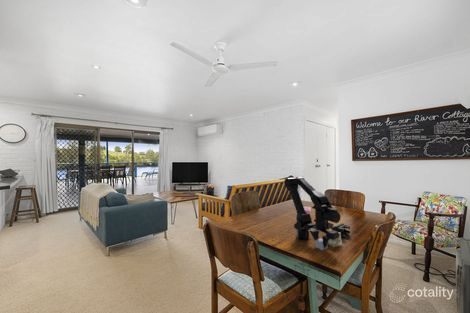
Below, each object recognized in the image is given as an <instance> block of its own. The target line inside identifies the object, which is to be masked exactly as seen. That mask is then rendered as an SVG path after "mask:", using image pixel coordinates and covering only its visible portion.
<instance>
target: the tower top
mask: <svg viewBox="0 0 470 313" xmlns="http://www.w3.org/2000/svg"><path fill="white" fill-rule="evenodd" d="M331 230H332V229H329V231H331ZM339 234H340V237H339V238H336V239H330V240H333V241H338V240H340V239H341V233H340V232H339ZM341 240H342V239H341Z"/></svg>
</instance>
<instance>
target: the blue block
mask: <svg viewBox="0 0 470 313" xmlns="http://www.w3.org/2000/svg"><path fill="white" fill-rule="evenodd" d="M314 242H315V243H314V244H315V245H314V247H315V248H316V249H319V250H321V251H324V250H327V249H328V245H327V246H326V248H324V244H323V238H322V237H320V238H319V239H317V240H314Z"/></svg>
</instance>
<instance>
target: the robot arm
mask: <svg viewBox="0 0 470 313" xmlns="http://www.w3.org/2000/svg"><path fill="white" fill-rule="evenodd" d="M283 184H284V186H285V188H286V189H287V190H288V192H290V195H291V200H292V202H293V205H294V208H295V211H296V222H295V223H294V225H293V227H294V229H295V230H296V235H295V238H297V240H298V241H309V240H310V234H311V236H312V238H313V240H314V241H315V240H317V239H320V238H319V237H320V235H319V234H320V233H322V234H324V235H322V237H321V239H323V244H324V248H326V246H327V247H328V241H329V239H336V238H339V237H340V234H339V232H337V231H334V230H332V229H333V227H334V224H338V223H339V222H340V221H341V217H342V216H341V214H340V212H339V210H338V209H336V208H333V206H332V204H331V203H330V201H329V198H328V197H327V196H326V195H325V194H324V193H322V192H319V191H317V190H316V188H314V187H313V186H312V185H311V184H310V183H309V182H308V181H307V180H306V179H305V178H304V177H303V176H298V177H286V178H284V182H283ZM299 187H300V188H302V190H303V191H304V192H305V193H306V194H307V195H308V196H309V198H310V201H311V203H312V204H313V206H312V207H311V208H312V209H314V212H315V213H314V214H315V217H314V218H315V219H313V220H312V217H311V214H310V213H307V212H306V209H305V207H304V204H303V202H302V199H301V195H300V193H299ZM313 222H314V223H313ZM330 230H331V231H330Z"/></svg>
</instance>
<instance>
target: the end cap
mask: <svg viewBox="0 0 470 313" xmlns="http://www.w3.org/2000/svg"><path fill="white" fill-rule="evenodd" d="M350 229H351V227H350V225H345V224H344V223H343V222H342V223H339V224H336V225H335V226H334V225H333V229H331V230H334V231H337V232H340V233H341V240H344V239H346V238H348V237H350V235H351V230H350Z"/></svg>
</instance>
